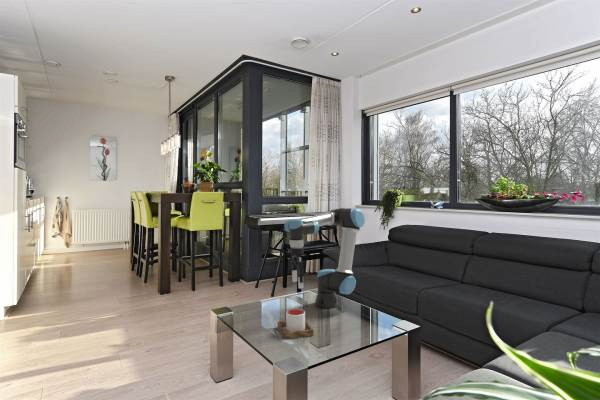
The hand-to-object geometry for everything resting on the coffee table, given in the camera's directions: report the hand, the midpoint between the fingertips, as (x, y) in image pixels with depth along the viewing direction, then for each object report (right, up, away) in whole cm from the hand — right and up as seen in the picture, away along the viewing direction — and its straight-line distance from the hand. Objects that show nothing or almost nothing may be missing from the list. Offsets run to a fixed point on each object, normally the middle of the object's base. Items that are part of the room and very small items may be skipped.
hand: (297, 284), depth 198 cm
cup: (-1, -23, -7) cm, 24 cm away
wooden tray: (-2, -23, -7) cm, 24 cm away
